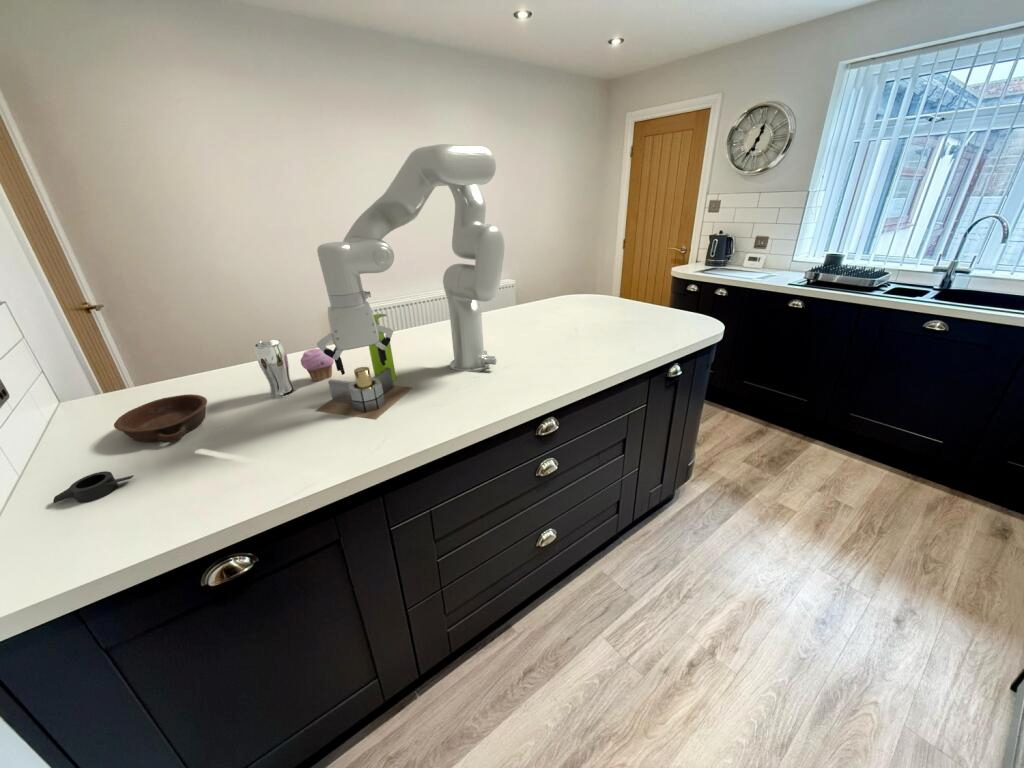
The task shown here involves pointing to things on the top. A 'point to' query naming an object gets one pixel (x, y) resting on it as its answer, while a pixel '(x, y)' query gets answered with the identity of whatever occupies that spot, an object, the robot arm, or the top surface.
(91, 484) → the black ring with arms
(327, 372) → the cupcake
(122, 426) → the dish
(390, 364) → the soap dispenser
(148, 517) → the top surface
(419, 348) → the top surface
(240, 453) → the top surface
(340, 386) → the hinge
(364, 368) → the hinge pin
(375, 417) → the hinge base
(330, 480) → the top surface
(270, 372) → the beer glass
